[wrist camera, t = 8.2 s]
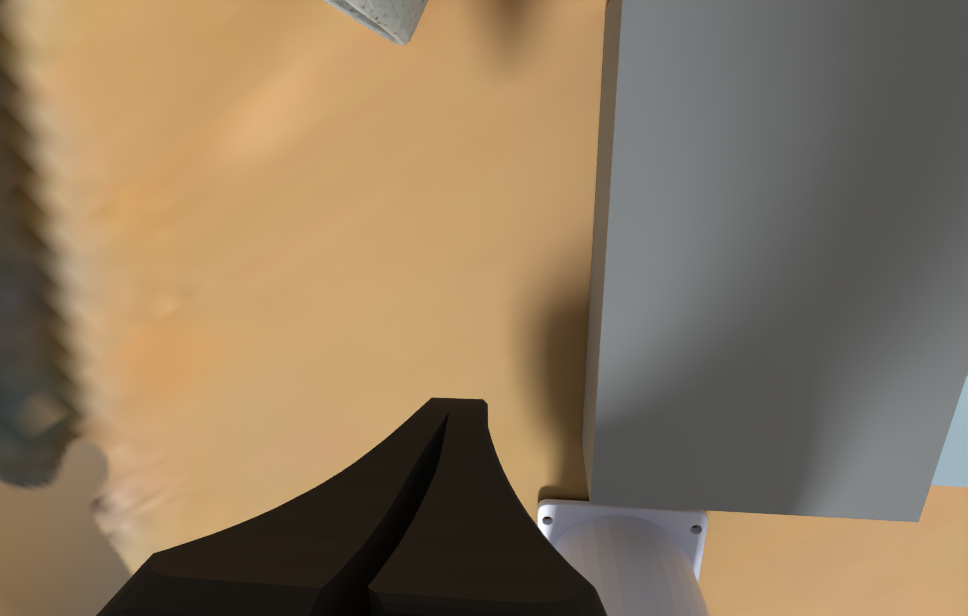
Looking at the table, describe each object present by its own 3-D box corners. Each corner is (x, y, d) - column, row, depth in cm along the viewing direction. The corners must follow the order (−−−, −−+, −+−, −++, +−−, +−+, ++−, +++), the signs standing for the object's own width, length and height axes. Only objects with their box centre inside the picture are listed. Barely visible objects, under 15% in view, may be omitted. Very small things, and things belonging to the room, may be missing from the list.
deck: (854, 456, 22) (918, 522, 19) (581, 444, 24) (589, 503, 20) (977, -7, 16) (1107, -50, 13) (605, 8, 18) (624, -26, 14)
